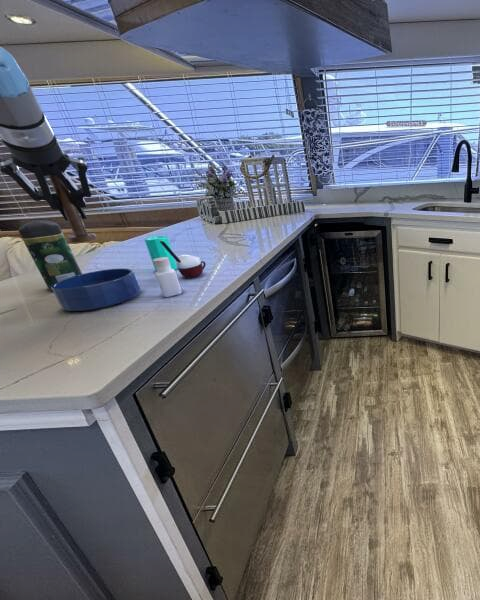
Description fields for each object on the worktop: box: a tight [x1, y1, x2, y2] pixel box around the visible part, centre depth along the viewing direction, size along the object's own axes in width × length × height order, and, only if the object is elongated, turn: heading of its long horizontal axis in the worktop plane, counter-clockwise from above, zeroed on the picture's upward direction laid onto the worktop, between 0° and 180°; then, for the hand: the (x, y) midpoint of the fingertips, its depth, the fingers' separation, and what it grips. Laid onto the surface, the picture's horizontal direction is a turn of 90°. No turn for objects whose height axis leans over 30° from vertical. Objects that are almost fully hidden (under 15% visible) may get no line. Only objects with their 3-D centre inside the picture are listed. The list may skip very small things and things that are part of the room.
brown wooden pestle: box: [47, 175, 98, 243], centre depth 77 cm, size 5×5×16 cm
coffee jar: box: [17, 219, 83, 292], centre depth 89 cm, size 10×8×19 cm
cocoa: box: [160, 241, 206, 279], centre depth 94 cm, size 10×6×12 cm, turn 130°
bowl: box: [51, 267, 141, 312], centre depth 80 cm, size 15×15×6 cm
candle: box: [144, 232, 178, 272], centre depth 102 cm, size 6×6×12 cm
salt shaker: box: [152, 257, 183, 298], centre depth 81 cm, size 4×4×10 cm
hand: (75, 215), depth 80 cm, fingers closed on brown wooden pestle, 2 cm apart
